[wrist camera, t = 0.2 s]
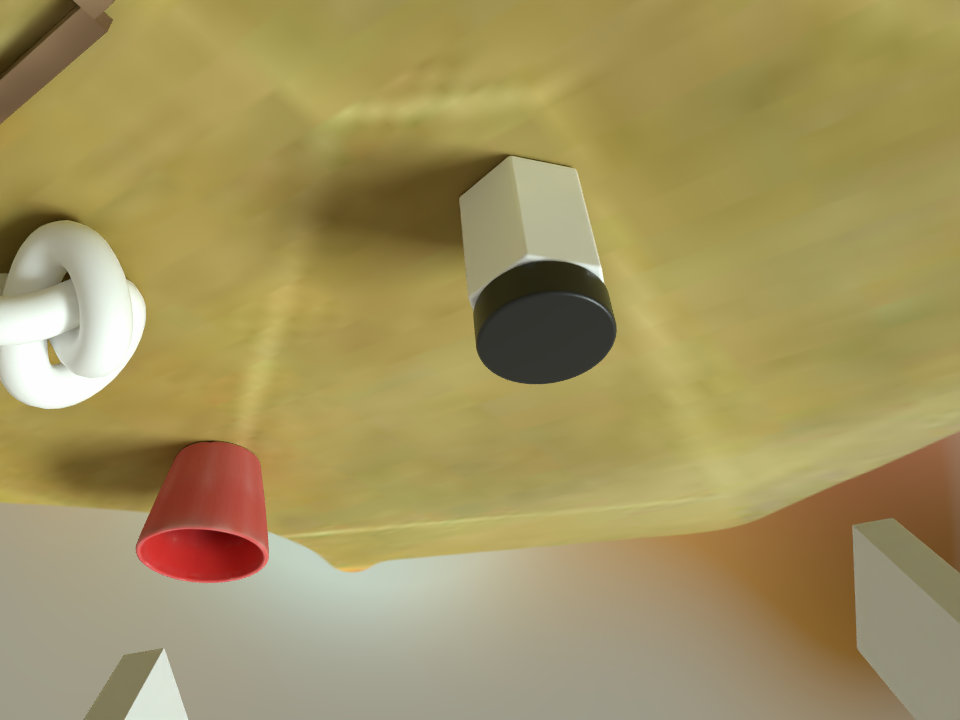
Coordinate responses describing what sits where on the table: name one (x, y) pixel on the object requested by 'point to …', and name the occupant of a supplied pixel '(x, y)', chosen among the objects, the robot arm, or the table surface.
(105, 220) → the table surface
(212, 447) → the flower pot
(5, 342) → the white knot sculpture
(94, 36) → the socket ring
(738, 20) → the table surface
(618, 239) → the table surface
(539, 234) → the jar
